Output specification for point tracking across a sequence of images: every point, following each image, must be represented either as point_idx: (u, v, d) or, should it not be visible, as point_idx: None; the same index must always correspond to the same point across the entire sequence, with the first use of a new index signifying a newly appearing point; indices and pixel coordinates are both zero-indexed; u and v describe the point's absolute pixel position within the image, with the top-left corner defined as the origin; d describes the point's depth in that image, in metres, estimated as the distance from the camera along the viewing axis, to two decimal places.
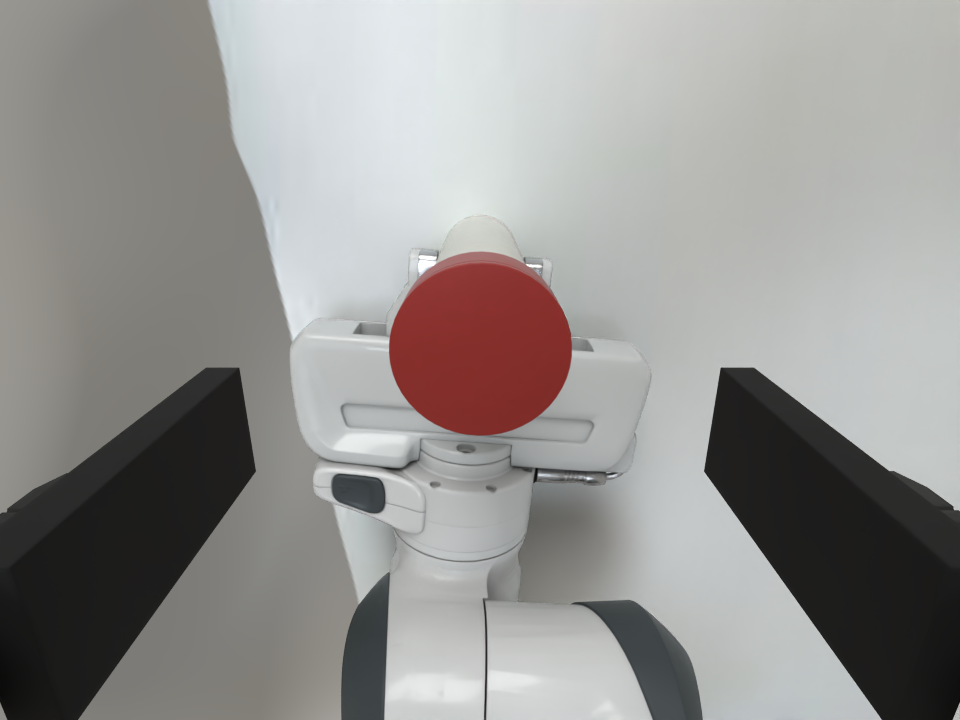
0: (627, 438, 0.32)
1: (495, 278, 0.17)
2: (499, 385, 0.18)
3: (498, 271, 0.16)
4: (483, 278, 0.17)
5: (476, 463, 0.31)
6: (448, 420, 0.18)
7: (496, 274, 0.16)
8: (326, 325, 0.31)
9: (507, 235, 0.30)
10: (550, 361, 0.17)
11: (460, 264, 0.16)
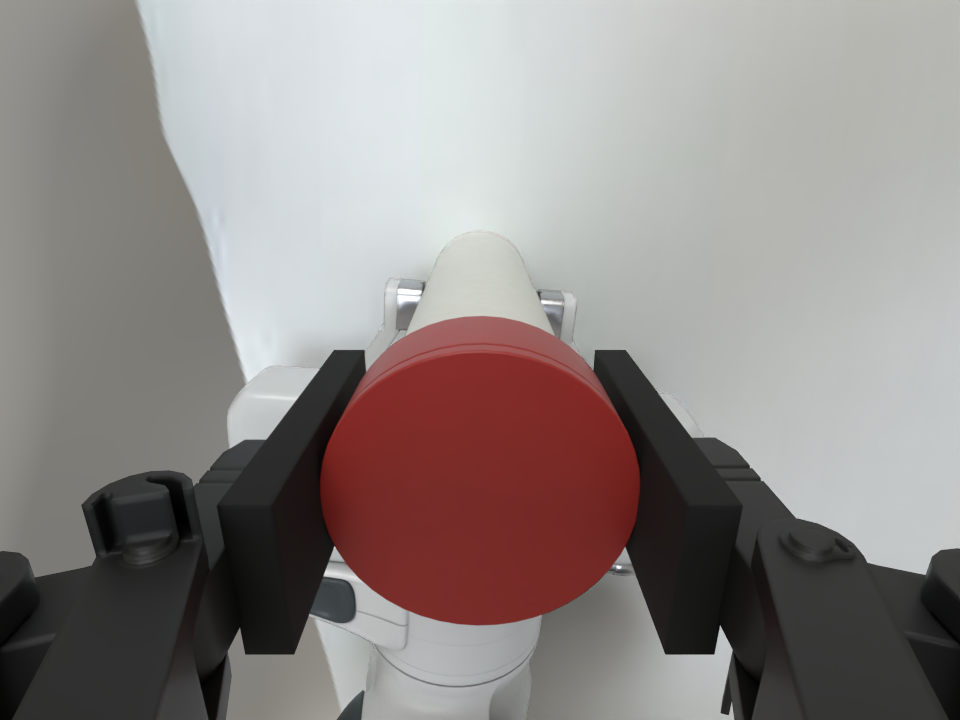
0: None
1: (507, 377, 0.09)
2: (512, 550, 0.10)
3: (513, 366, 0.09)
4: (485, 377, 0.09)
5: None
6: (425, 603, 0.11)
7: (509, 371, 0.09)
8: (277, 378, 0.24)
9: (516, 261, 0.22)
10: (602, 513, 0.10)
11: (443, 352, 0.09)
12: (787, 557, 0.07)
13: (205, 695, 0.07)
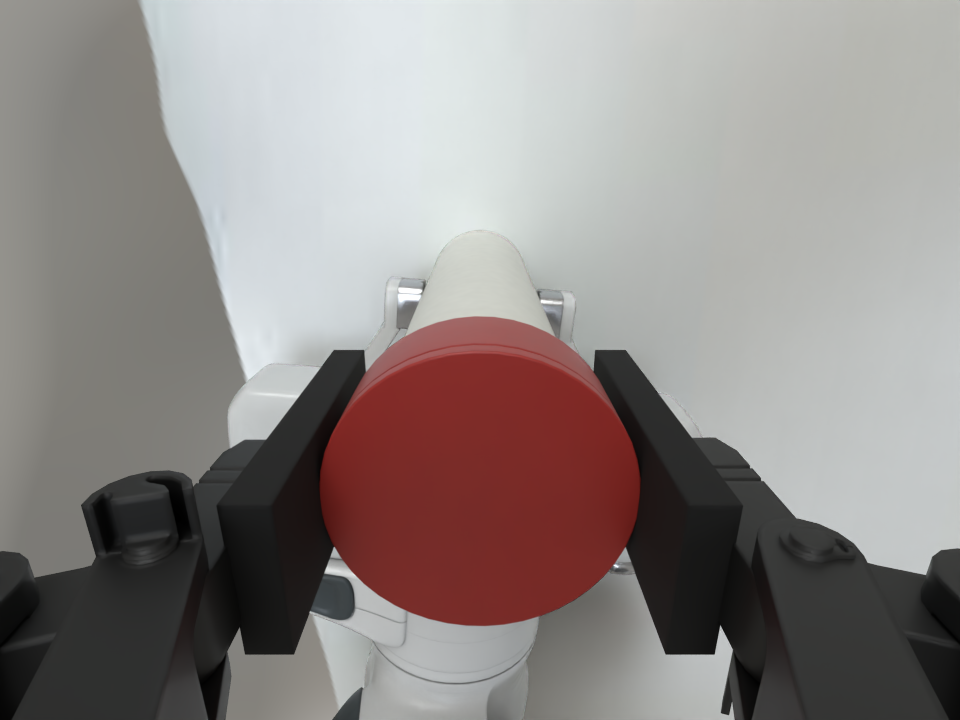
0: None
1: (344, 472, 0.10)
2: (542, 477, 0.10)
3: (333, 467, 0.10)
4: (345, 490, 0.10)
5: None
6: (598, 558, 0.10)
7: (337, 471, 0.10)
8: (278, 375, 0.24)
9: (516, 261, 0.23)
10: (503, 391, 0.09)
11: (324, 517, 0.10)
12: (788, 557, 0.07)
13: (205, 695, 0.07)
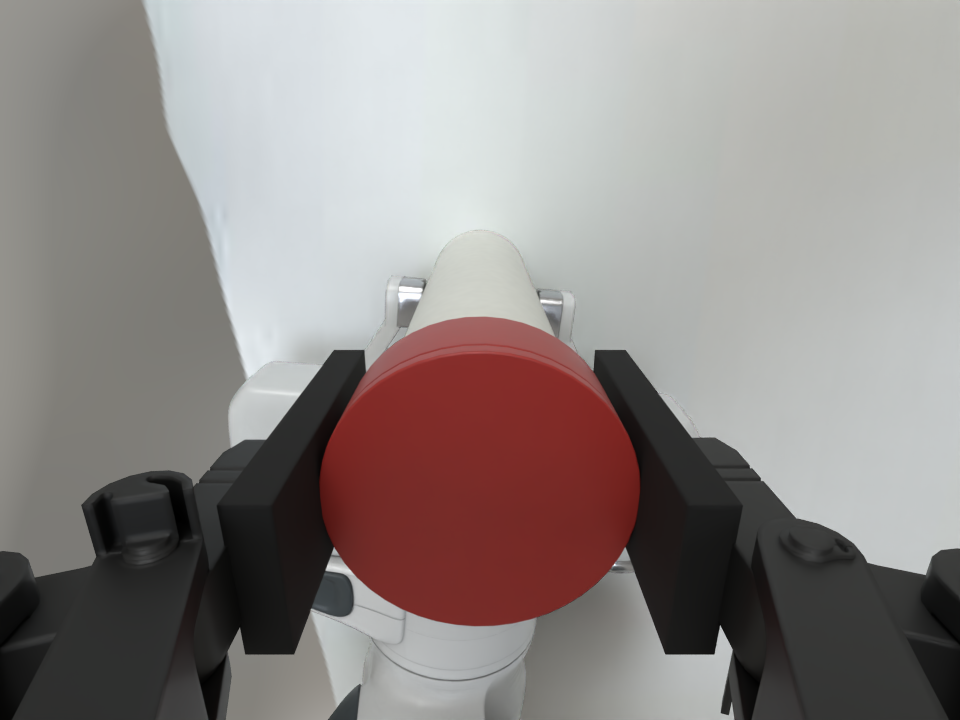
0: None
1: (438, 604, 0.11)
2: (453, 447, 0.10)
3: (432, 612, 0.11)
4: (457, 607, 0.11)
5: None
6: (562, 394, 0.09)
7: (436, 610, 0.11)
8: (278, 373, 0.24)
9: (516, 260, 0.23)
10: (357, 477, 0.10)
11: (489, 622, 0.11)
12: (788, 557, 0.07)
13: (205, 696, 0.07)
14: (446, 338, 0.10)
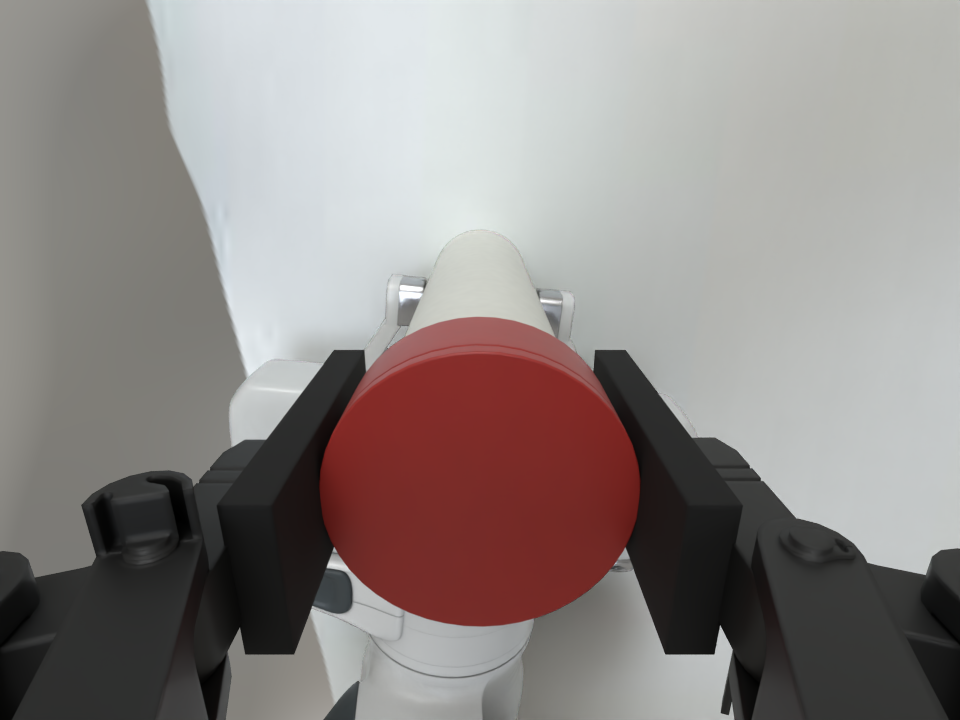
0: None
1: (601, 547, 0.10)
2: (415, 520, 0.10)
3: (610, 553, 0.10)
4: (607, 531, 0.10)
5: None
6: (361, 427, 0.09)
7: (607, 550, 0.10)
8: (279, 371, 0.24)
9: (516, 260, 0.23)
10: (443, 596, 0.11)
11: (638, 501, 0.10)
12: (787, 557, 0.07)
13: (205, 695, 0.07)
14: None
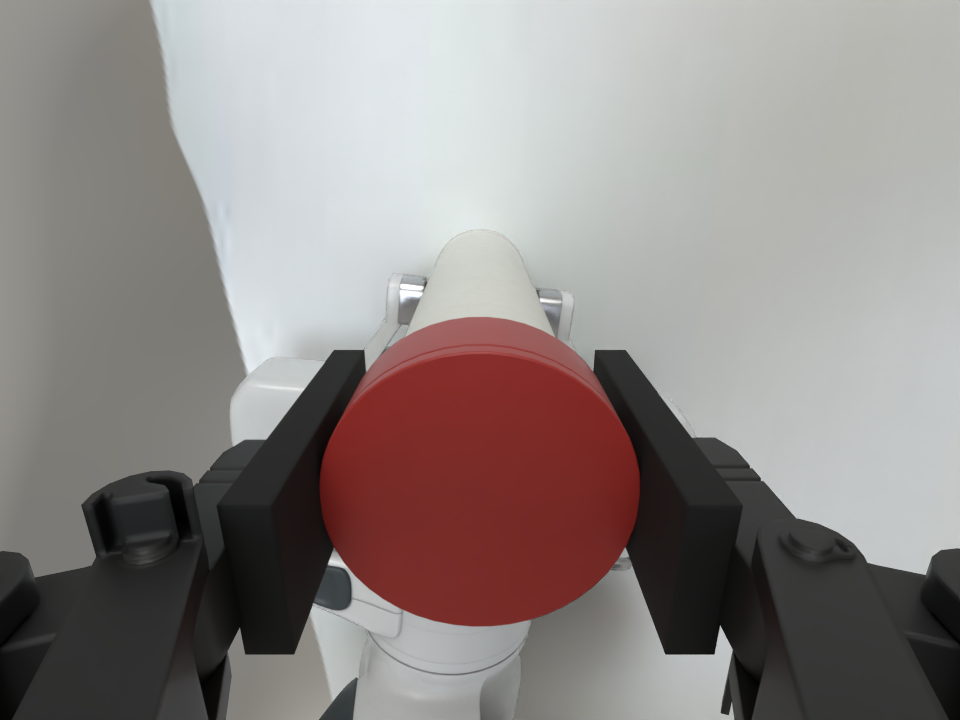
0: None
1: (547, 391, 0.09)
2: (494, 557, 0.10)
3: (557, 383, 0.09)
4: (526, 385, 0.09)
5: None
6: (392, 588, 0.11)
7: (551, 385, 0.09)
8: (280, 368, 0.24)
9: (516, 260, 0.23)
10: (590, 543, 0.10)
11: (494, 350, 0.09)
12: (788, 557, 0.07)
13: (205, 695, 0.07)
14: None
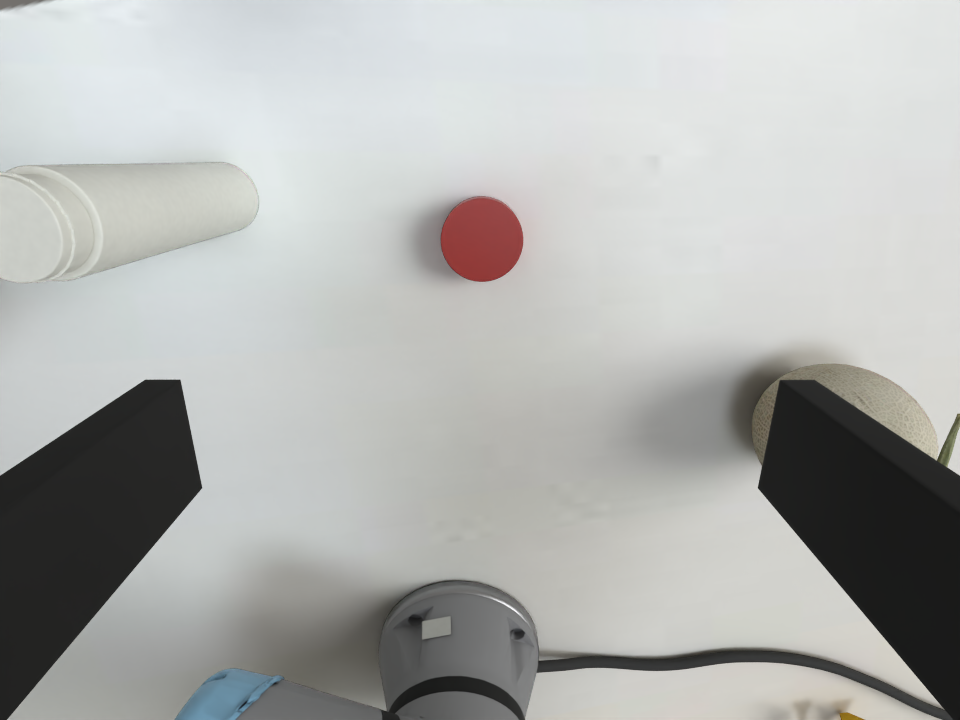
0: None
1: (498, 208, 0.38)
2: (485, 258, 0.39)
3: (500, 206, 0.38)
4: (493, 207, 0.38)
5: None
6: (458, 268, 0.39)
7: (499, 207, 0.38)
8: None
9: (219, 227, 0.35)
10: (511, 253, 0.39)
11: (485, 198, 0.38)
12: None
13: None
14: None
